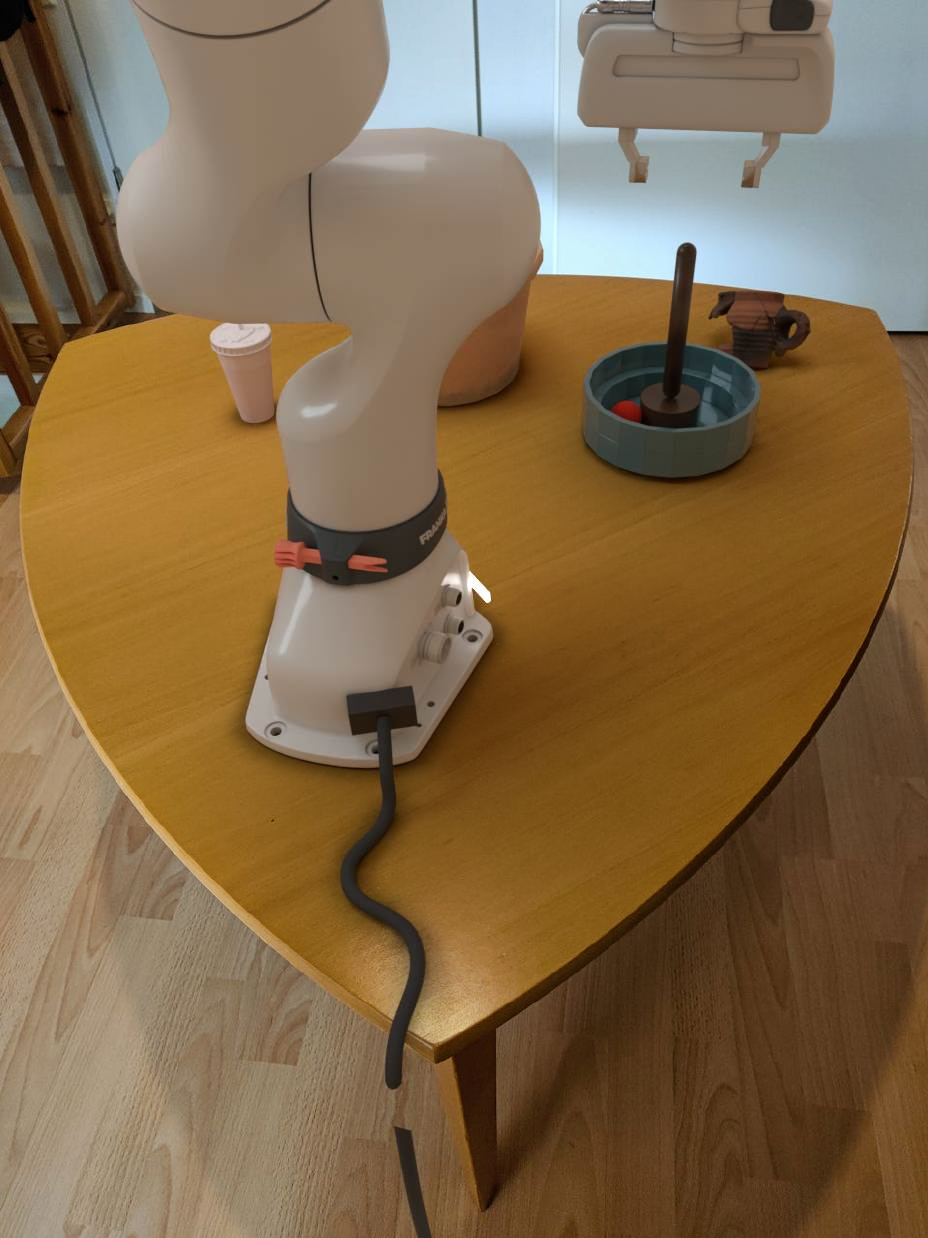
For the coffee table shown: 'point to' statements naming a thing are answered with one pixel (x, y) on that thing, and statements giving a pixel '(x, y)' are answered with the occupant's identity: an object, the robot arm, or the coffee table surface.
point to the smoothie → (247, 367)
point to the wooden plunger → (675, 357)
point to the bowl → (667, 450)
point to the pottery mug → (759, 325)
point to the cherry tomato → (628, 411)
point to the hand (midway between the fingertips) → (693, 183)
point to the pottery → (489, 352)
